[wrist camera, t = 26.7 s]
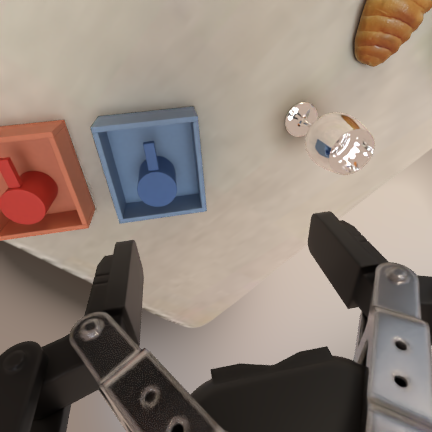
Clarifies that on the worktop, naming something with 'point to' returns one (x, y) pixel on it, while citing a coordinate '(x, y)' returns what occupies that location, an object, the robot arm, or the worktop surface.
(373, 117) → the worktop surface
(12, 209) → the red scoop
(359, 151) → the wineglass
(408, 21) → the pastry
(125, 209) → the blue bin
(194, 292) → the worktop surface
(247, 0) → the worktop surface
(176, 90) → the worktop surface
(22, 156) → the red bin
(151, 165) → the blue scoop
